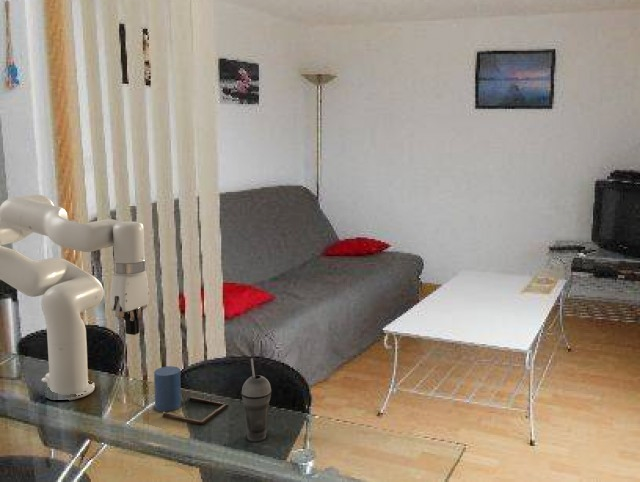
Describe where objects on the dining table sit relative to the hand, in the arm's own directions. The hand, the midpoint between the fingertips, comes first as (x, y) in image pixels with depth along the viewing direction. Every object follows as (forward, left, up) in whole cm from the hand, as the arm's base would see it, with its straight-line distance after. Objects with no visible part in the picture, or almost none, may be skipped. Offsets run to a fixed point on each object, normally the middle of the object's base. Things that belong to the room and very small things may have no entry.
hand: (132, 333), depth 165 cm
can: (+11, 0, -19) cm, 22 cm away
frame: (+20, 0, -19) cm, 28 cm away
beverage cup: (+42, -6, -19) cm, 47 cm away
